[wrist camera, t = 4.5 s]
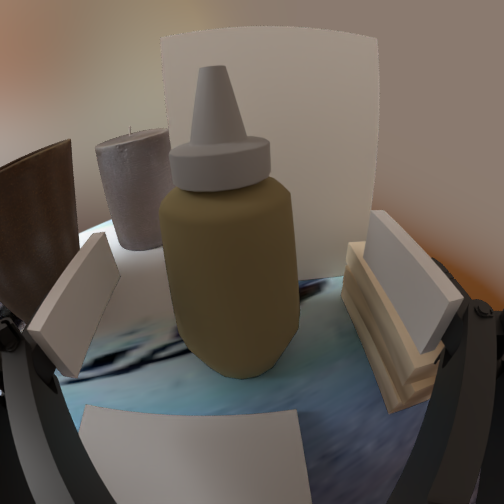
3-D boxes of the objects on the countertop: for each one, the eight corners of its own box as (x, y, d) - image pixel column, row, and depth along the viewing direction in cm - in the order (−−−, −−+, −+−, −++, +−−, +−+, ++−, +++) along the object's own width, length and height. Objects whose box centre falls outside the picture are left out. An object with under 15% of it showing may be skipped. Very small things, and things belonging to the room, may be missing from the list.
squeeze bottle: (241, 416, 15) (181, 45, 5) (169, 347, 20) (98, 93, 10) (318, 342, 19) (341, 66, 9) (243, 296, 24) (223, 76, 14)
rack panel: (197, 289, 25) (160, 37, 13) (198, 279, 27) (165, 41, 15) (359, 273, 26) (377, 38, 14) (354, 265, 27) (368, 40, 15)
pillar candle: (119, 228, 38) (96, 133, 30) (177, 211, 41) (162, 116, 33) (119, 260, 31) (86, 141, 22) (192, 238, 34) (174, 119, 26)
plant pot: (57, 264, 30) (21, 155, 22) (138, 272, 28) (101, 126, 19) (-7, 338, 18) (-71, 214, 9) (67, 382, 16) (-41, 195, 7)
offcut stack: (384, 419, 13) (419, 377, 10) (335, 294, 24) (343, 242, 21) (457, 390, 13) (495, 343, 10) (396, 285, 24) (409, 237, 21)
